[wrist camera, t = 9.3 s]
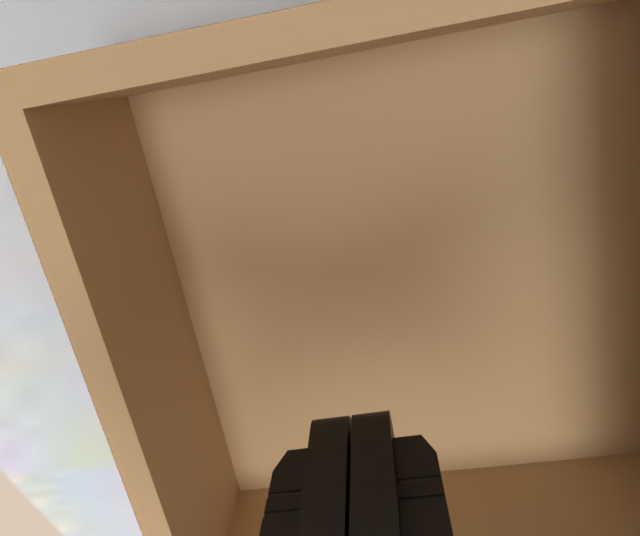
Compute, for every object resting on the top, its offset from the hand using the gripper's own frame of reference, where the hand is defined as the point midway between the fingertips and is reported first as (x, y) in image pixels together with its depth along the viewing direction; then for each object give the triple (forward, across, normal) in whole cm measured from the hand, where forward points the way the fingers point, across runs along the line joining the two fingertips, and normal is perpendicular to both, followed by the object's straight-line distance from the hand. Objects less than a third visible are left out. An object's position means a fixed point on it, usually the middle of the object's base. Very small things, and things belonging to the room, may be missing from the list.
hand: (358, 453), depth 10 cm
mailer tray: (+8, -4, 0) cm, 9 cm away
